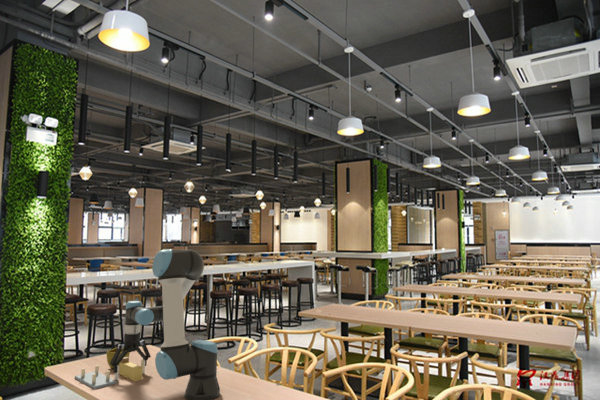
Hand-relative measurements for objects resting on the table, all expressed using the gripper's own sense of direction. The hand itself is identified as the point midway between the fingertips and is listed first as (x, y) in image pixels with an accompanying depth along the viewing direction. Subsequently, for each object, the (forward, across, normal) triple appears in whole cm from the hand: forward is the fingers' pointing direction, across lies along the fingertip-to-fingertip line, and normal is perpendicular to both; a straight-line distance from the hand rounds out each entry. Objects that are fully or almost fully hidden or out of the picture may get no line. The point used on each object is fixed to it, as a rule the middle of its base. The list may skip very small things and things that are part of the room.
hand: (129, 376), depth 206 cm
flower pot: (0, -3, -19) cm, 19 cm away
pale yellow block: (0, 0, 0) cm, 1 cm away
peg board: (0, +14, -6) cm, 16 cm away
